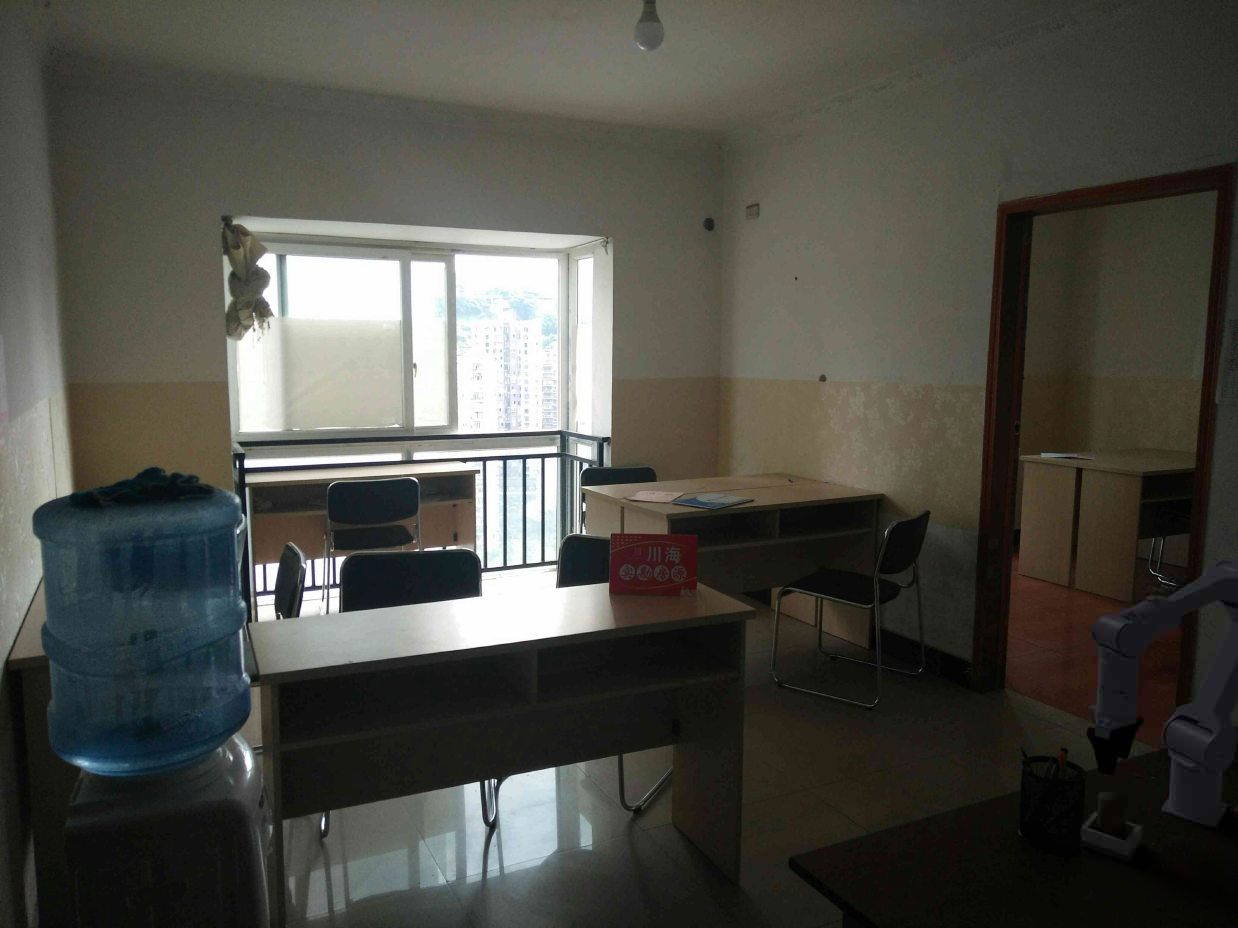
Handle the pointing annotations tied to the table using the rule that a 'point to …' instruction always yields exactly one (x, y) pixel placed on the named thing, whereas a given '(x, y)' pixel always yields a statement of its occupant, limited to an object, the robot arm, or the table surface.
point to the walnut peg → (1112, 814)
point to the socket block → (1111, 839)
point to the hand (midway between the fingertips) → (1113, 764)
